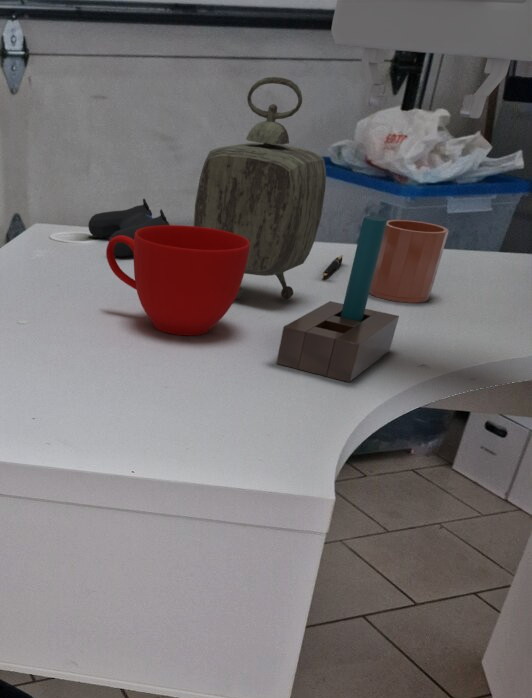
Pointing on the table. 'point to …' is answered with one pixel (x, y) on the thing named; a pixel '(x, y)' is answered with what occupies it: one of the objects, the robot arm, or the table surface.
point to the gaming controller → (124, 225)
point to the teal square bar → (363, 267)
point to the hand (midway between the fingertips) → (420, 111)
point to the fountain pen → (333, 266)
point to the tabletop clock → (265, 193)
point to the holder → (336, 341)
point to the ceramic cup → (184, 274)
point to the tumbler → (408, 261)
